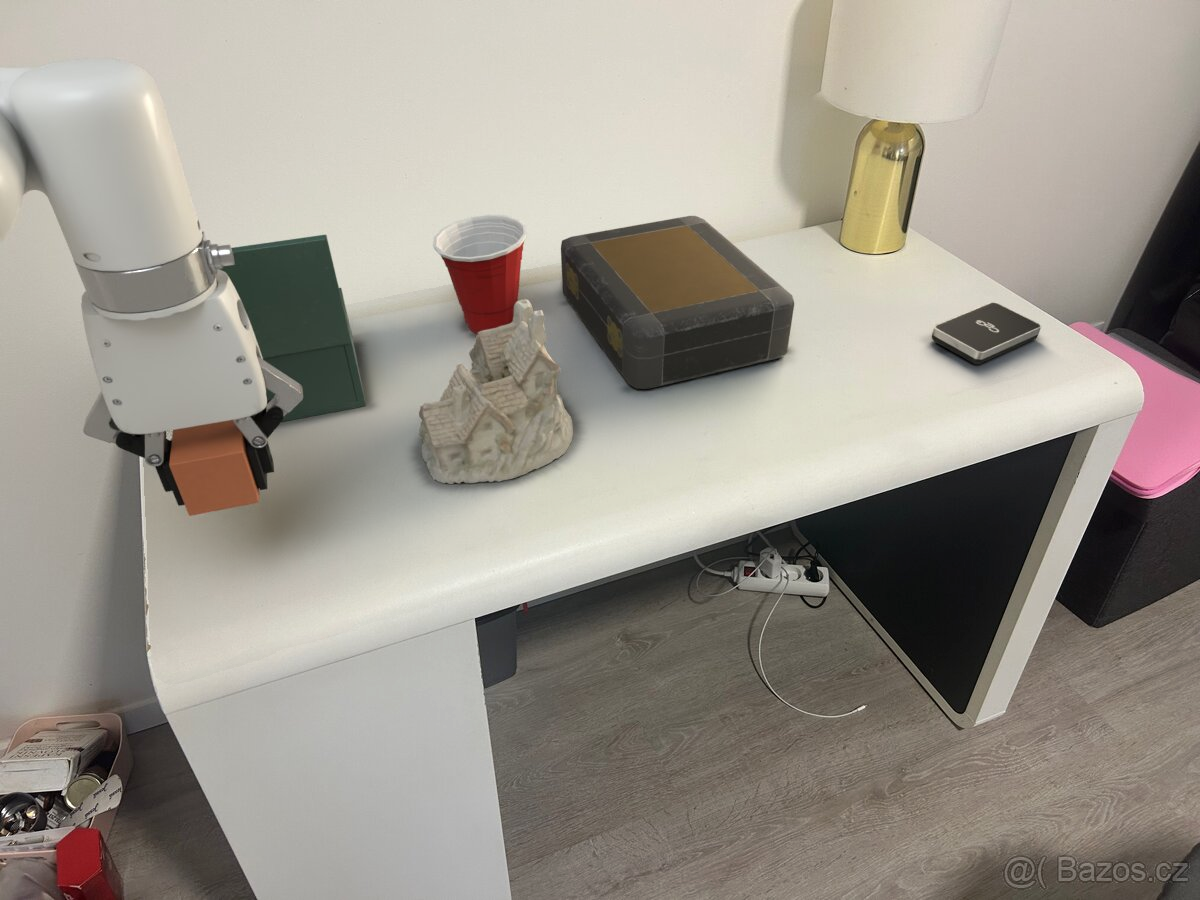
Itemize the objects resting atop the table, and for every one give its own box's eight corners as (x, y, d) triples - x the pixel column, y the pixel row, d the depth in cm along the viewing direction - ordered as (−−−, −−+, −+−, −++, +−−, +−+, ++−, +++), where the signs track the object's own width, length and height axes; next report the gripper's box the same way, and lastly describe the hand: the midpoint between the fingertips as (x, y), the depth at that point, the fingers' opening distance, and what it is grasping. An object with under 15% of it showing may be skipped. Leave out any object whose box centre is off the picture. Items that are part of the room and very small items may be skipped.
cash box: (796, 357, 97) (806, 297, 92) (634, 395, 92) (635, 334, 87) (699, 264, 115) (703, 210, 110) (558, 291, 110) (556, 236, 105)
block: (189, 516, 63) (168, 465, 60) (192, 475, 67) (173, 424, 64) (259, 503, 65) (242, 451, 61) (258, 463, 68) (242, 413, 65)
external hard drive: (1038, 340, 99) (1043, 325, 98) (975, 369, 95) (980, 354, 94) (989, 315, 104) (993, 301, 103) (926, 341, 99) (930, 326, 98)
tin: (251, 364, 97) (232, 304, 92) (354, 346, 100) (341, 287, 95) (253, 427, 88) (231, 364, 83) (366, 405, 91) (352, 343, 86)
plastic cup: (438, 310, 106) (424, 219, 99) (522, 296, 109) (515, 207, 101) (453, 354, 98) (439, 260, 91) (543, 338, 101) (537, 245, 93)
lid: (187, 253, 72) (187, 259, 72) (326, 233, 75) (327, 239, 75) (230, 358, 83) (230, 363, 83) (350, 337, 86) (351, 342, 85)
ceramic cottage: (552, 373, 95) (537, 253, 85) (589, 469, 83) (576, 343, 73) (413, 402, 92) (381, 282, 82) (430, 505, 80) (395, 380, 70)
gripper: (285, 232, 59) (333, 437, 70) (11, 264, 55) (109, 477, 66) (289, 280, 54) (341, 495, 65) (-15, 320, 49) (97, 542, 61)
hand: (223, 484), depth 65 cm, fingers closed on block, 5 cm apart
